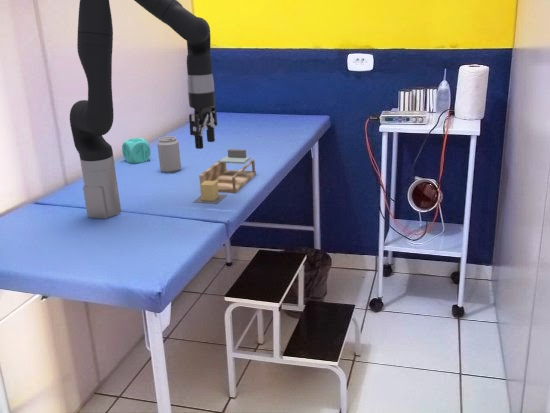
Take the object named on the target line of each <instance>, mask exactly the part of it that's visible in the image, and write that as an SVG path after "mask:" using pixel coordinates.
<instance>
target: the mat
mask: <svg viewBox="0 0 550 413" xmlns="http://www.w3.org/2000/svg"><path fill="white" fill-rule="evenodd" d="M218 194H219V197H218V198H217V199H215V200H214V201H206V200H202V199H201V195H199V196H198V197H197V198H196V199H195V200H194V201H192V203H195V204H197V203H198V204H209V205H210V204H211V205H218V204H219V203H220V202H221V201H222V200H224V199H225V198H226V197H227V196H228V195H227V194H220V193H218Z"/></svg>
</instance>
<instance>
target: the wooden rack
mask: <svg viewBox="0 0 550 413" xmlns="http://www.w3.org/2000/svg"><path fill="white" fill-rule="evenodd" d="M223 158H224V157H222V158H221V159H223ZM221 159H219V160H218V161H216V162H215V163H214V164H213V165H211V166H209V168H207V169H206V170H204V171H203V172H201V174H199V175H198V177H199V185H200V184H202V183H203V182H204V181H217V182H218V193H228V194H229V193H231V194H237V192H239V190H241V189H242V188H243V187H244V186H245V185H246V184H247V183H248V182H250V180H251V179H253V178H254V177H255V176H256V174H257V171H256V168H255V167H256V166H255V165H256V164H255V163H256V162H255V159H250V160H249V162H248V163H247V164H245V165H244V166H243V167H241V169H239V170H236V169H227V163H219V161H220V160H221ZM249 166H251V170H246V169H247V168H249ZM199 189H200V190H201V188H199Z"/></svg>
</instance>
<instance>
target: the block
mask: <svg viewBox="0 0 550 413" xmlns="http://www.w3.org/2000/svg"><path fill="white" fill-rule="evenodd" d="M199 186H200V188H201V189H200V188H199V189H200V196H201V199H202V200H206V201H214V200H215V199H217V198H218V197H219V194H220V193H219V192H218V182H217V181H204V182H203V183H202V184H200V183H199Z"/></svg>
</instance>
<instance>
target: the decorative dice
mask: <svg viewBox="0 0 550 413" xmlns="http://www.w3.org/2000/svg"><path fill="white" fill-rule="evenodd" d="M121 147H122V148H121V152H122V155H123V156H122V157H123V158H124V160H125V162H127V163H129V164H142V163H145V162H147V161H148V160H149V159H150V158H151V152H152V151H151V147H150V144H149V142H148V140H147V139H146V138H143V137H136V138H135V137H133V138H129V139H125V141H124V142H123V143H122V145H121Z"/></svg>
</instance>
